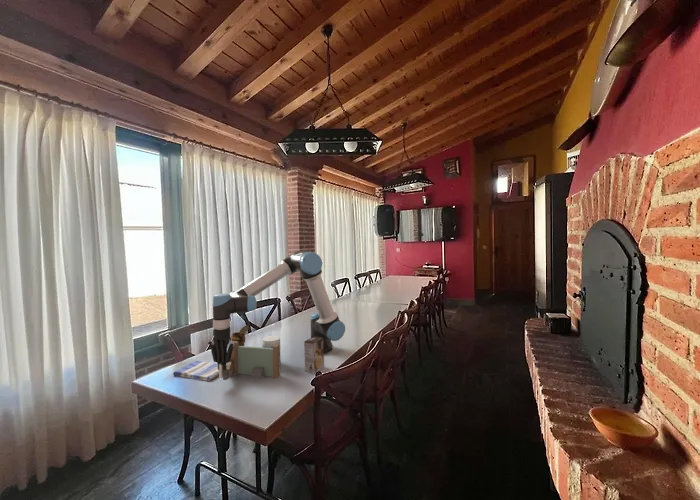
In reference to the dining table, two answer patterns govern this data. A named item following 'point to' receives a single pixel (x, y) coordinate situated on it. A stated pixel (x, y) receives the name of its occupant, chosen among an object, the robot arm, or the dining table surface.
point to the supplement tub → (270, 341)
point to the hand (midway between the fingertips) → (222, 376)
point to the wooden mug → (240, 336)
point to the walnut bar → (227, 370)
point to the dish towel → (199, 371)
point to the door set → (256, 361)
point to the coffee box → (314, 354)
